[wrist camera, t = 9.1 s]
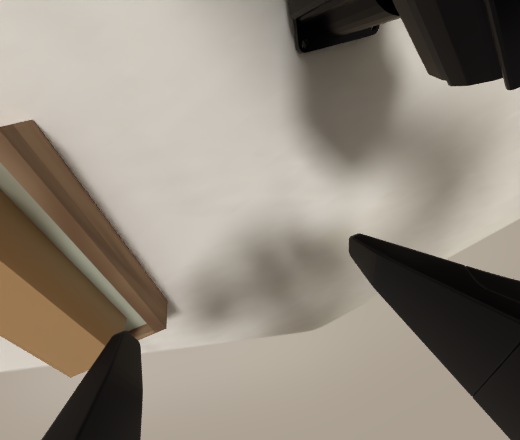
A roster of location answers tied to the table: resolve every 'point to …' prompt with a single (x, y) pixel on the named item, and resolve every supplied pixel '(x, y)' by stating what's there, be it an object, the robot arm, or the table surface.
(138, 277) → the brown picture frame
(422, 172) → the table surface
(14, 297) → the tan rectangular block
